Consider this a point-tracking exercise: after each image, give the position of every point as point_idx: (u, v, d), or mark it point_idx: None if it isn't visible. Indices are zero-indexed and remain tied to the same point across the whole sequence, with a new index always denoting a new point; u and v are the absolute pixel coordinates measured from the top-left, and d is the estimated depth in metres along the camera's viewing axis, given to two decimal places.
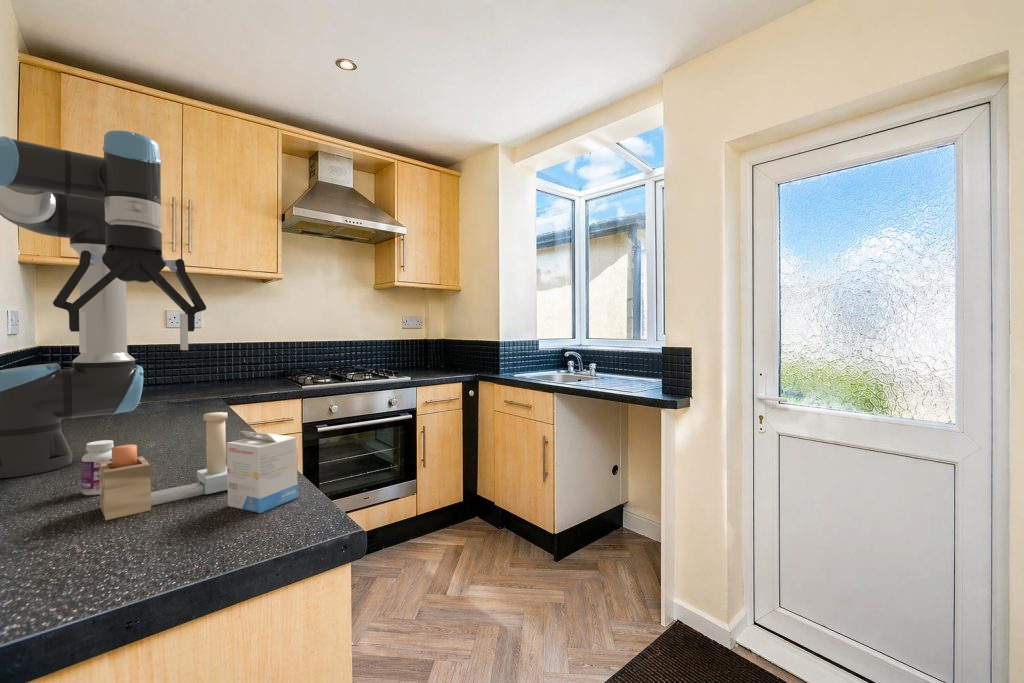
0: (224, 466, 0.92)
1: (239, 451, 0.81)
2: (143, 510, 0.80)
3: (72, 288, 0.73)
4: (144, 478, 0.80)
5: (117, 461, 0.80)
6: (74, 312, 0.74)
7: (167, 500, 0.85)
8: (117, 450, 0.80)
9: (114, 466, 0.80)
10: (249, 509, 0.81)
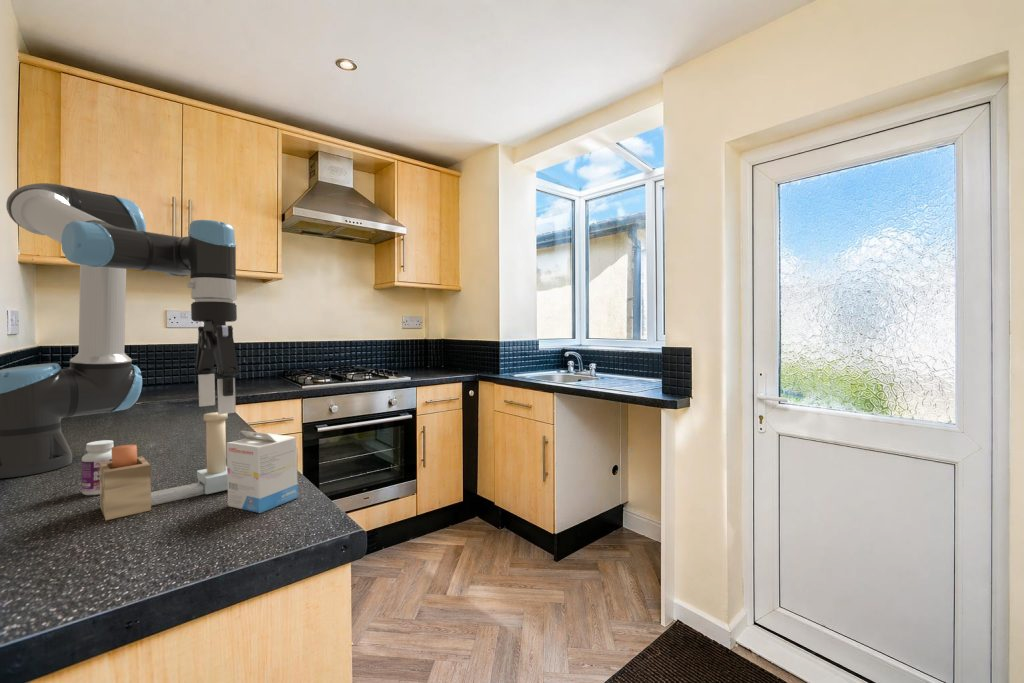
0: (224, 466, 0.92)
1: (239, 451, 0.81)
2: (143, 510, 0.80)
3: (197, 356, 0.96)
4: (144, 478, 0.80)
5: (117, 461, 0.80)
6: (201, 374, 0.96)
7: (167, 500, 0.85)
8: (117, 450, 0.80)
9: (114, 466, 0.80)
10: (249, 509, 0.81)
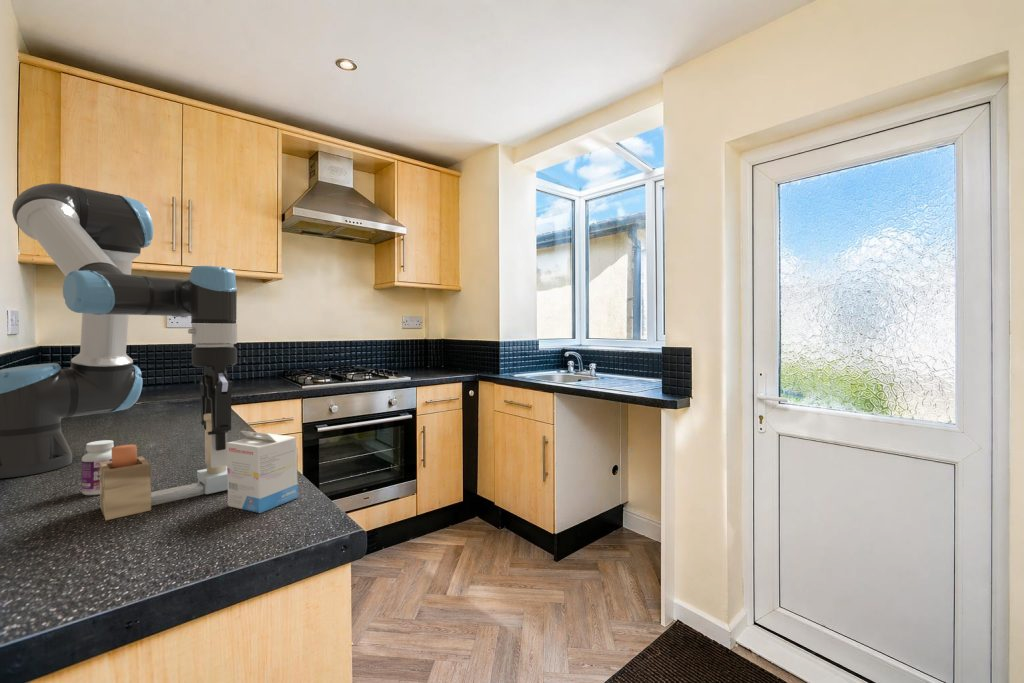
0: (224, 466, 0.92)
1: (239, 451, 0.81)
2: (143, 510, 0.80)
3: (202, 408, 0.94)
4: (144, 478, 0.80)
5: (117, 461, 0.80)
6: None
7: (167, 500, 0.85)
8: (117, 450, 0.80)
9: (114, 466, 0.80)
10: (249, 509, 0.81)
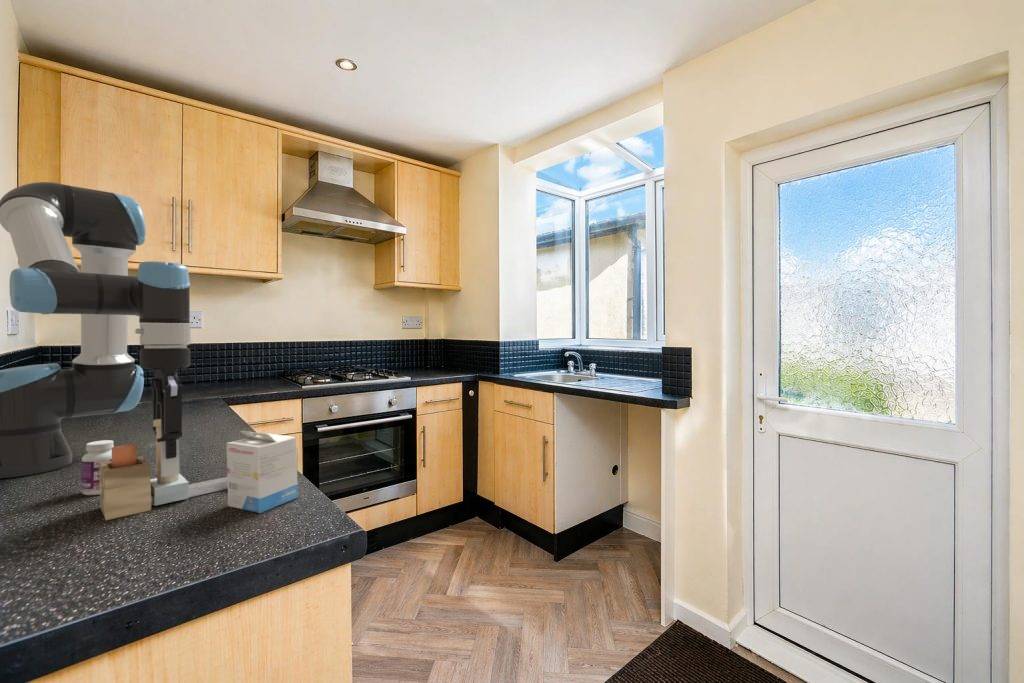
0: (176, 475, 0.86)
1: (239, 451, 0.81)
2: (143, 510, 0.80)
3: (153, 413, 0.88)
4: (144, 478, 0.80)
5: (117, 461, 0.80)
6: None
7: None
8: (117, 450, 0.80)
9: (114, 466, 0.80)
10: (249, 509, 0.81)
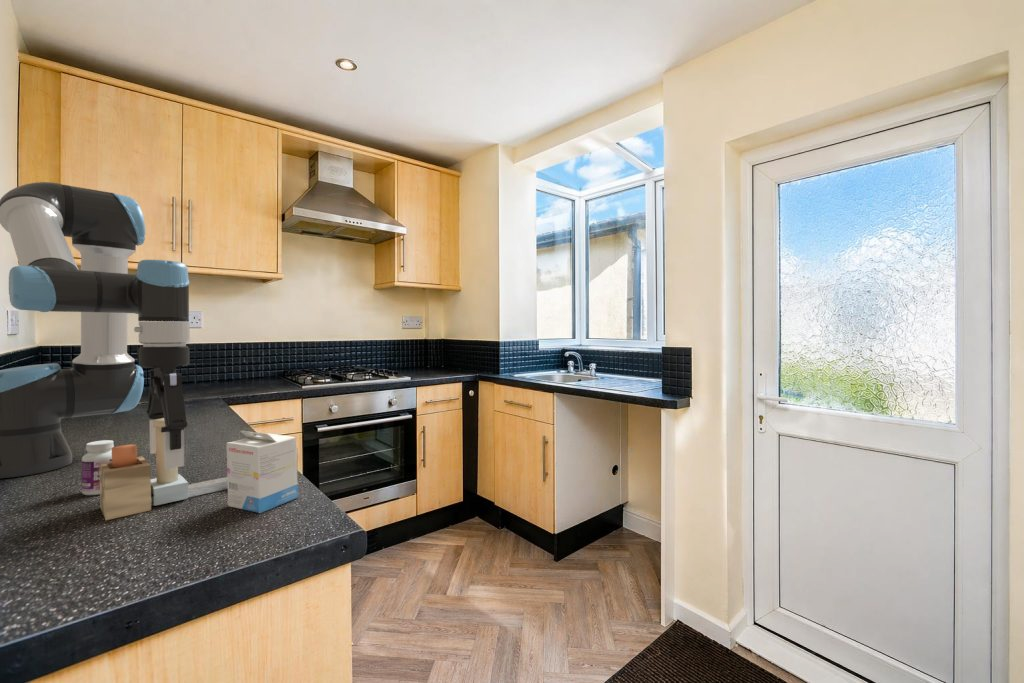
0: (175, 475, 0.86)
1: (239, 451, 0.81)
2: (143, 510, 0.80)
3: (149, 400, 0.90)
4: (144, 478, 0.80)
5: (117, 461, 0.80)
6: (153, 419, 0.91)
7: None
8: (117, 450, 0.80)
9: (114, 466, 0.80)
10: (249, 509, 0.81)
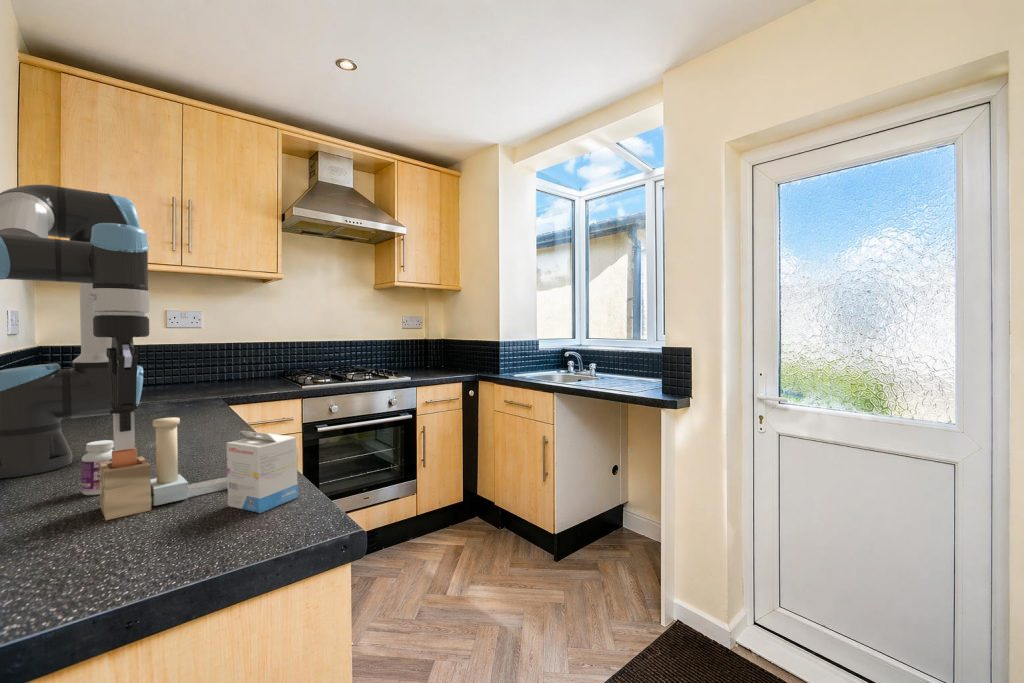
0: (175, 475, 0.86)
1: (239, 451, 0.81)
2: (143, 510, 0.80)
3: (111, 387, 0.82)
4: (144, 478, 0.80)
5: (117, 464, 0.80)
6: None
7: None
8: (117, 453, 0.80)
9: None
10: (249, 509, 0.81)
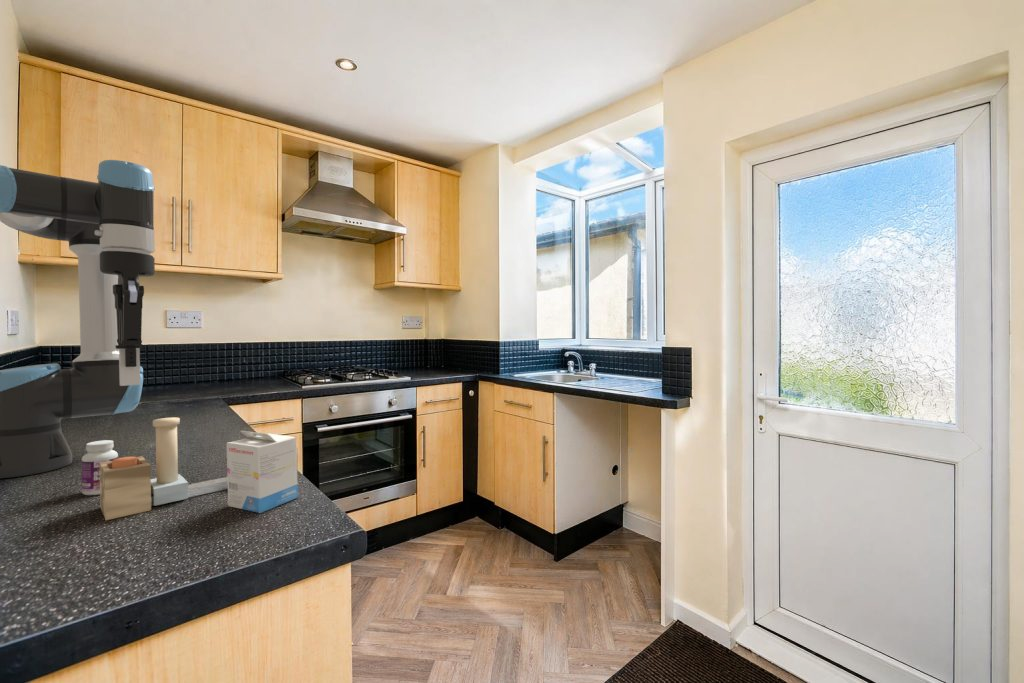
0: (175, 475, 0.86)
1: (239, 451, 0.81)
2: (143, 510, 0.80)
3: (117, 324, 0.84)
4: (144, 478, 0.80)
5: None
6: None
7: None
8: (117, 463, 0.80)
9: None
10: (249, 509, 0.81)
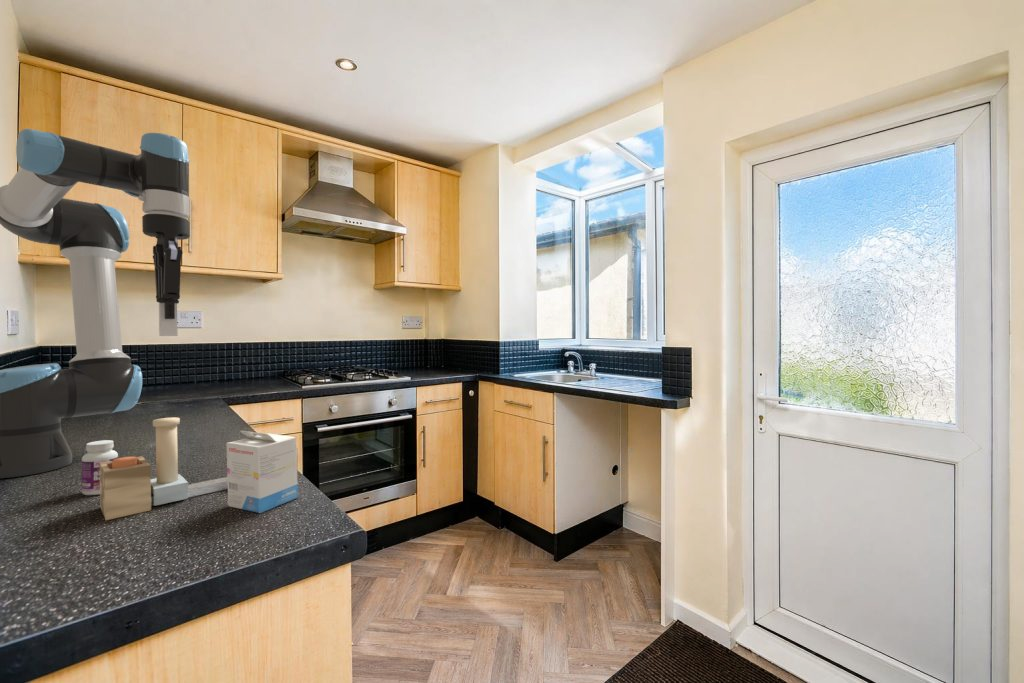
0: (175, 475, 0.86)
1: (239, 451, 0.81)
2: (143, 510, 0.80)
3: (156, 282, 0.93)
4: (144, 478, 0.80)
5: None
6: (162, 302, 0.92)
7: None
8: (117, 463, 0.80)
9: None
10: (249, 509, 0.81)
